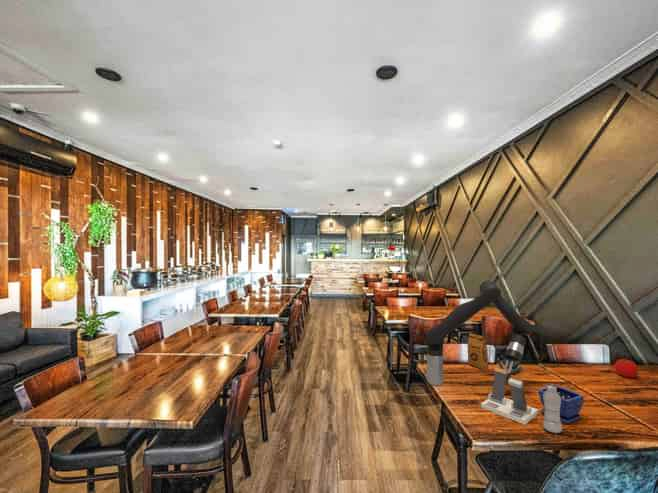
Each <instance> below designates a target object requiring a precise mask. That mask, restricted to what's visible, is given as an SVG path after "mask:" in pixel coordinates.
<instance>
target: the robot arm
mask: <svg viewBox="0 0 658 493" xmlns="http://www.w3.org/2000/svg"><path fill="white" fill-rule="evenodd" d="M478 287H479V293H480V294H479V295H478V296H476V298H474V299H472V300H470V301H466V302H463V303H461V304H459V305H458V306H456V307H455V308H454V309H452V311H450V312H449V314H448V315H447V316H445V318H444V319H443V321H441V322H440V323H439V324H437V325H436V326H432V327H430V328H429V329H428V330H427V332H426V334H425V338H426V341H427V347H426V359H427V360H426V366H425V370H426V375H425V376H426V382H427V383H428V384H429V385H433V386H442V385H444V339H445V338H446V337H447V336H449V334H451V333H452V332H453V331H455V330H456V329H458V328H459V327H461V326H462V325H463V324H465V323H466V322H468V321H469V320H470V319H471V318H472V317H474V316H476V314H477V313H479V312H481V311H482V310H483V309H484V308H486V307H488V306H489V305H491V304H492V303H493V305H494V306H495V307H496V309H498V311H499V312H500V314H501V315H502V316H503V317H504V319H505V320H506V321H507V322H508V323H509V324H511V325H512V326H511V339H510V342H509V344H508V346H507V348H506V352H505V354H504V358H503V359H502V360H497V364H498V365H499V368H500V369H504V370H507V371H508V373H507V376H506V382H508V380H509V379H510V378H511V376H517V375H518V374H520V373H522V372H524V369H523V367H522V366H521V360H522V358H523V354H524V351H525V350H524V349H525V346H526V342H527V341H526V337H524V336H529V335H532V334H533V333H534V327H533V325H532V324H531V323H530V322H529V321H528V320H526V318H524V317H523V316H521V315H520V314H519V313H518V312H517V310H515V308H513V307H512V305H511V304H510V303H509V302H508V301H507V300H506V299H505V298H504V297H503V296H502V291H501V289H500V287H499V286H498V285H497V284H496V283H494V282H493V281H491V280H484V281H482V282H481V283H480V285H479V286H478ZM523 335H524V336H523ZM503 366H504V367H503Z"/></svg>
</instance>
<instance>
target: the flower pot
mask: <svg viewBox="0 0 658 493" xmlns="http://www.w3.org/2000/svg"><path fill="white" fill-rule="evenodd" d="M556 387H557V391H556V392H557V393H558V394H559V396H560V398H561V404H560V421H561V423H563V424H566V425H567V424H570V423H572V422H574V421H577V420H579V419H580V418H581V417H582V415H581V414H579V413H580V412H581V410H582V408H583V405H584V400H585V397H584V395H583V394H581V393H579V392H575V391H572V390H571V389H568V388H565V387H562V386H559V385H556ZM546 390H547V389H546V386H545V387H542V388H540V389H539V390H538V396H539V400H540V403H541V404H542V406H543V408H542V409H541V412H542V413H543V414H544V415H545V407H544V400H543V393H544V392H545V391H546Z"/></svg>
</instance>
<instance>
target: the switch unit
mask: <svg viewBox="0 0 658 493" xmlns="http://www.w3.org/2000/svg"><path fill="white" fill-rule="evenodd" d="M491 397H492V392H491V393H488V397H487V399H485V400H484V401H482V402H481V403H480V408H482V409H484V410H486V411H489V412H492V413H495V414H497V415H499V416H502V417H505V418H507V419H510V420H511V419H512V421H514V420H515V421H514V422H516V421H517V422H516V423H519V424H521V423H522V425H523V426H526V425H527V424H528V423H529V422H530V421H531V420H533V419H534V418H535V417H536V416H537V415H539V409H537V408H534V407H531V406H529V405H527V412H524V411H521V410H518V409H516V408H515V407H514V403H513V399H510V398H507V397H504V399H502V403H500V402H497V401H494V400H492V399H491Z"/></svg>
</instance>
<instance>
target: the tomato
mask: <svg viewBox="0 0 658 493" xmlns="http://www.w3.org/2000/svg"><path fill="white" fill-rule="evenodd" d="M614 369H615V371H616V372H617V374H618V375H620V376H621V377H625V378H629V379H630V378H636V377H637V376H638V375H639V374H638V373H639V367H638V366H637V364H636V363H635V362H634V361H632V360H630V359H625V358H621V359H618V360H616V362H614Z"/></svg>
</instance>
